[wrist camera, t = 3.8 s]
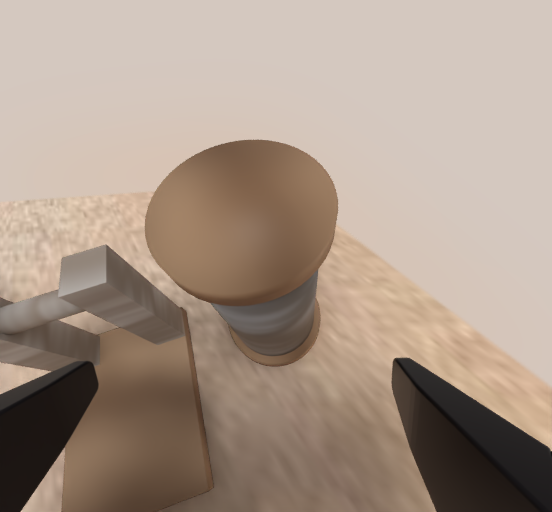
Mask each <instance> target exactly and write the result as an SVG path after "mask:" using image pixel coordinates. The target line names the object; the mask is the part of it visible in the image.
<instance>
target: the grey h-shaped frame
mask: <svg viewBox="0 0 552 512" xmlns="http://www.w3.org/2000/svg"><path fill="white" fill-rule="evenodd" d="M84 311H87V312H89V313H91V314H94V315H96V316H98V317H100V318H102V319H104V320H106V321H108V322H110V323H112V324H114V325H116V326H118V327H119V328H116V329H113V330H110V331H107V332H104V333H101V334H98V335H95V334H92V333H90V332H87V331H85V330H82V329H79V328H77V327H74V326H72V325H69V324H67V323H64V322H61V321H59V319H62V318H65V317H68V316H71V315H74V314H77V313H81V312H84ZM75 361H91V362H92V363H93V364H94V367H95V371H96V375H97V378H98V382H99V387H98V390H97V393H96V394H95V396H94V398H93V400H92V401H91V403H90V405H89V407H88V408H87V410H86V412H85V413H84V415H83V417H82V419H81V420H80V422H79V424H78V426H77V427H76V429H75V431H74V433H73V434H72V436H71V438H70V439H69V441H68V443H67V444H66V448H65V464H64V480H63V495H62V511H61V512H155V511H158V510H161V509H163V508H166V507H169V506H171V505H174V504H176V503H179V502H182V501H184V500H187V499H189V498H192V497H195V496H197V495H200V494H202V493H205V492H208V491H209V490H211V489H212V488H213V487H214V486H213V480H212V473H211V467H210V460H209V454H208V447H207V441H206V435H205V428H204V422H203V415H202V409H201V403H200V396H199V390H198V383H197V377H196V371H195V364H194V358H193V351H192V345H191V339H190V332H189V326H188V319H187V313H186V311H185V310H184V309H183V308H182V307H180V308H179V307H178V306H177V305H176V304H175V303H173V302H172V301H171V300H170V299H169V298H168V297H166V296H165V295H164V294H163V293H162V292H161V291H159V290H158V289H157V288H156V287H155V286H154V285H153V284H151V283H150V282H149V281H148V280H147V279H146V278H144V277H143V276H142V275H141V274H140V273H139V272H137V271H136V270H135V269H134V268H133V267H132V266H131V265H129V264H128V263H127V262H126V261H125V260H124V259H122V258H121V257H120V256H119V255H118V254H117V253H116V252H114V251H113V250H112V249H111V248H110V247H109V246H107V245H103V246H99V247H96V248H93V249H90V250H86V251H83V252H80V253H76V254H73V255H70V256H67V257H63V258H62V262H61V272H60V282H59V289H58V290H55V291H52V292H49V293H45V294H42V295H39V296H36V297H33V298H29V299H26V300H23V301H20V302H17V303H13V302H10V301H7V300H5V299H2V298H0V362H2V363H8V364H13V365H19V366H25V367H30V368H36V369H42V370H47V371H55V370H57V369H59V368H62V367H64V366H66V365H68V364H71V363H73V362H75Z"/></svg>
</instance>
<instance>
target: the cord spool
mask: <svg viewBox="0 0 552 512" xmlns="http://www.w3.org/2000/svg"><path fill="white" fill-rule="evenodd" d="M337 214H338V199H337V193H336V189H335V187H334V184H333V181H332V180H331V178H330V176H329V174H328V173H327V171H326V170H325V169H324V168H323V166H322V165H321V164H320V163H318V162H317V161H316V160H315V159H314V158H313V157H311V156H310V155H308V154H307V153H305V152H303V151H301V150H299V149H297V148H295V147H292V146H290V145H287V144H283V143H279V142H273V141H268V140H242V141H235V142H229V143H225V144H221V145H218V146H214V147H212V148H209V149H206V150H204V151H202V152H200V153H198V154H196V155H194V156H192V157H191V158H189V159H187V160H186V161H185V162H183V163H182V164H180V165H179V166H178V167H177V168H175V169H174V170H173V171H172V172H171V173H170V174H169V175H168V176H167V177H166V178H165V179H164V180H163V182H162V183H161V184H160V186H159V187H158V188H157V190H156V191H155V193H154V195H153V197H152V199H151V201H150V204H149V206H148V210H147V214H146V219H145V236H146V241H147V245H148V248H149V250H150V252H151V254H152V256H153V258H154V259H155V261H156V262H157V264H158V265H159V266H160V267H161V268H162V269H163V270H164V271H165V272H166V273H167V274H168V275H169V276H170V277H171V278H172V279H173V281H174V282H175V283H176V284H177V285H178V286H179V287H181V288H182V289H183V290H185V291H186V292H187V293H189V294H191V295H193V296H195V297H196V298H198V299H201V300H204V301H207V302H209V303H211V304H212V305H213V307H214V308H215V309H216V310H217V311H218V313H219V314H220V315H221V316H222V317H223V319H224V320H225V321H226V322H227V323H228V325H229V328H230V332H231V335H232V338H233V340H234V342H235V343H236V345H237V346H238V347H239V349H240V350H241V351H242V352H243V353H244V354H245V355H246V356H247V357H249V358H250V359H251V360H253V361H255V362H257V363H259V364H262V365H266V366H284V365H288V364H291V363H293V362H295V361H297V360H299V359H300V358H302V357H303V356H304V355H305V354H306V353H307V352H308V351H309V350H310V349H311V347H312V346H313V344H314V343H315V340H316V338H317V335H318V332H319V326H320V309H319V305H318V302H317V299H316V288H317V277H318V269H319V267H320V266H321V264H322V263H323V262H324V260H325V259H326V257H327V255H328V253H329V251H330V248H331V245H332V242H333V239H334V233H335V227H336V220H337Z"/></svg>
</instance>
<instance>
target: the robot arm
mask: <svg viewBox="0 0 552 512" xmlns="http://www.w3.org/2000/svg"><path fill="white" fill-rule="evenodd" d="M98 387H99V382H98V378H97V375H96V371H95V367H94V364H93V363H92V362H91V361H75V362H73V363H71V364H68V365H66V366H64V367H62V368H59V369H57V370H55V371H53V372H50V373H48V374H46V375H43V376H41V377H39V378H37V379H34V380H32V381H30V382H28V383H25V384H23V385H21V386H18V387H16V388H14V389H12V390H9V391H7V392H5V393H3V394H0V512H21V510H22V509H23V507H24V506H25V504H26V503H27V501H28V500H29V498H30V497H31V496H32V494H33V493H34V491H35V490H36V488H37V487H38V485H39V484H40V482H41V481H42V480H43V478H44V477H45V475H46V474H47V472H48V471H49V469H50V468H51V466H52V465H53V463H54V462H55V461H56V459H57V458H58V456H59V455H60V453H61V452H62V450H63V449H64V447H65V446H66V444H67V443H68V441H69V439H70V438H71V436H72V434H73V433H74V431H75V429H76V427H77V426H78V424H79V422H80V420H81V419H82V417H83V415H84V413H85V412H86V410H87V408H88V407H89V405H90V403H91V401H92V400H93V398H94V396H95V394H96V393H97V390H98ZM392 390H393V394H394V397H395V400H396V404H397V407H398V410H399V413H400V417H401V420H402V423H403V427H404V430H405V433H406V436H407V440H408V443H409V446H410V449H411V451H412V454H413V456H414V459H415V461H416V464H417V466H418V468H419V471H420V473H421V475H422V478H423V480H424V483H425V485H426V487H427V490H428V492H429V495H430V497H431V499H432V502H433V504H434V506H435V509H436V511H437V512H552V451H550V449H549V447H547V446H546V445H544V444H542V443H541V442H539V441H538V440H536V439H535V438H533V437H532V436H530V435H528V434H527V433H525V432H524V431H522V430H521V429H519V428H518V427H516V426H514V425H513V424H511V423H510V422H508V421H507V420H505V419H504V418H502V417H501V416H499V415H497V414H496V413H494V412H493V411H491V410H490V409H488V408H487V407H485V406H483V405H482V404H480V403H479V402H477V401H476V400H474V399H473V398H471V397H469V396H468V395H466V394H465V393H463V392H462V391H460V390H459V389H457V388H455V387H454V386H452V385H451V384H449V383H448V382H446V381H445V380H443V379H442V378H440V377H438V376H437V375H435V374H434V373H432V372H431V371H429V370H428V369H426V368H424V367H423V366H421V365H420V364H418V363H417V362H415V361H414V360H412V359H410V358H395V359H394V360H393V368H392Z"/></svg>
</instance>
